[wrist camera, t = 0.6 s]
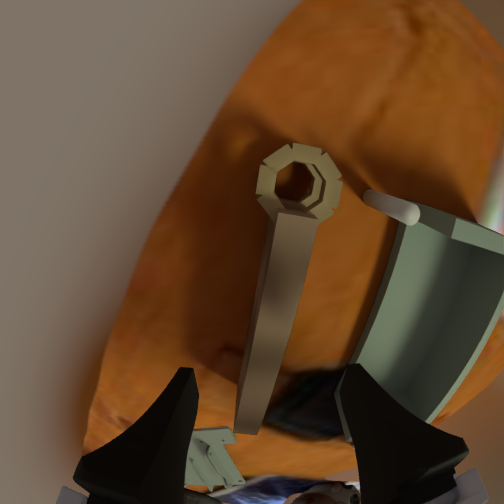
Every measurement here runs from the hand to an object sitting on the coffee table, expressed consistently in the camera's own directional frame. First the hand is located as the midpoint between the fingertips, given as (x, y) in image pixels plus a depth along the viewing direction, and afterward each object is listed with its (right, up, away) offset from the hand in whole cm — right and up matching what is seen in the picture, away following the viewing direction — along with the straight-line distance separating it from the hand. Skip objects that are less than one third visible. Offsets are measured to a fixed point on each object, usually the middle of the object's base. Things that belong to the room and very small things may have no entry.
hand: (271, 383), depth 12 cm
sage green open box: (+12, 0, +10) cm, 15 cm away
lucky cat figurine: (+12, -41, +24) cm, 49 cm away
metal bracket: (-9, -22, +19) cm, 30 cm away
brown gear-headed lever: (0, +3, +9) cm, 10 cm away
